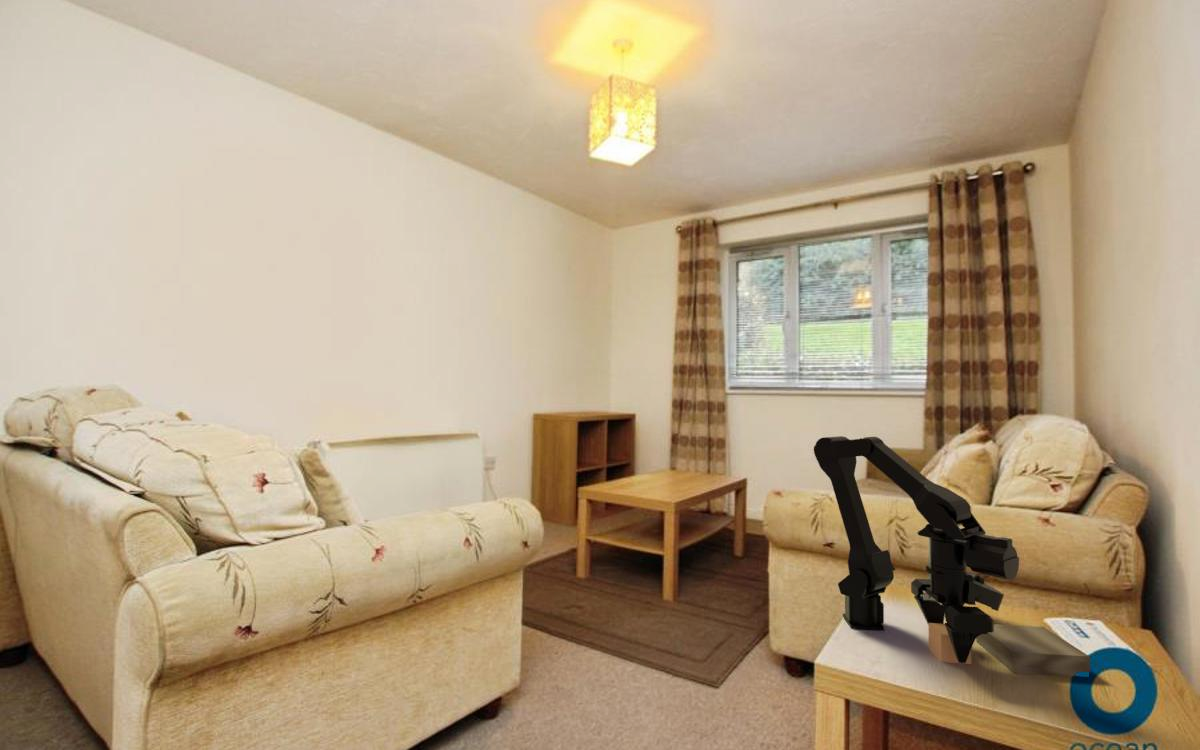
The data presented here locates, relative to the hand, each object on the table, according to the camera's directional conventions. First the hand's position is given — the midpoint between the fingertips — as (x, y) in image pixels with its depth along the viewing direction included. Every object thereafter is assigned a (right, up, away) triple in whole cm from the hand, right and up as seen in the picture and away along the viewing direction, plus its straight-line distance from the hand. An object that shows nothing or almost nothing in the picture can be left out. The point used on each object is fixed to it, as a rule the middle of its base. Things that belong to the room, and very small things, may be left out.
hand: (949, 650), depth 103 cm
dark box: (+14, -2, -1) cm, 14 cm away
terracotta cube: (0, -1, 0) cm, 1 cm away
